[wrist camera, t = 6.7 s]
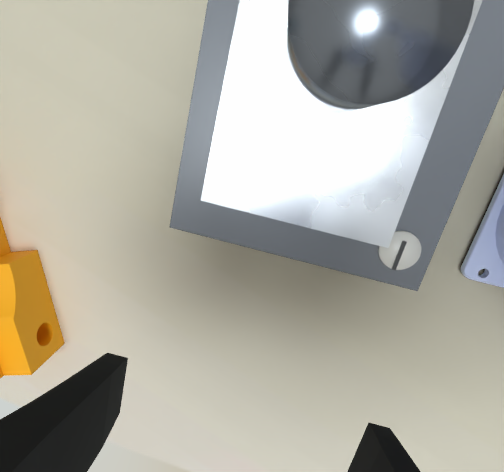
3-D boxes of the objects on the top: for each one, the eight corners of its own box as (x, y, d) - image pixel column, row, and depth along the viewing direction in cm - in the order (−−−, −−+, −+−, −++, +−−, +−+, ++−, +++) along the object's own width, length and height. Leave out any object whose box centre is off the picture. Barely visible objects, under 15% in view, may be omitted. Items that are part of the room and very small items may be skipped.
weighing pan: (520, -129, 11) (539, -150, 10) (382, 241, 15) (388, 248, 14) (280, -183, 12) (279, -208, 11) (205, 196, 15) (200, 200, 15)
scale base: (525, -55, 15) (590, -106, 11) (398, 267, 19) (419, 293, 16) (248, -120, 15) (237, -187, 12) (186, 212, 19) (167, 228, 16)
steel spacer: (417, 3, 12) (507, -82, 7) (378, 123, 13) (433, 121, 8) (302, -24, 12) (315, -125, 7) (274, 99, 13) (269, 83, 8)
